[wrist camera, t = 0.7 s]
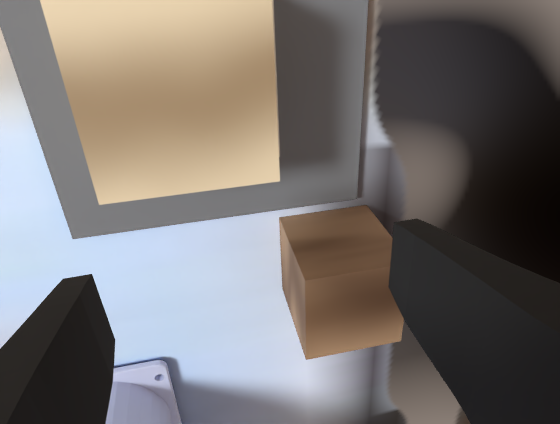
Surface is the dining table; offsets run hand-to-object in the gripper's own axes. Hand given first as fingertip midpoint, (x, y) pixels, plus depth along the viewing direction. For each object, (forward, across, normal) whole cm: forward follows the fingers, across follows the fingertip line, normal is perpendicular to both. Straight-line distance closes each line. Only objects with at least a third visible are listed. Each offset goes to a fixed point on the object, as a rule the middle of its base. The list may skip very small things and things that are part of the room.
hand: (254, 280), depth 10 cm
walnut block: (+10, -5, +6) cm, 13 cm away
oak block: (+9, +1, -3) cm, 10 cm away
